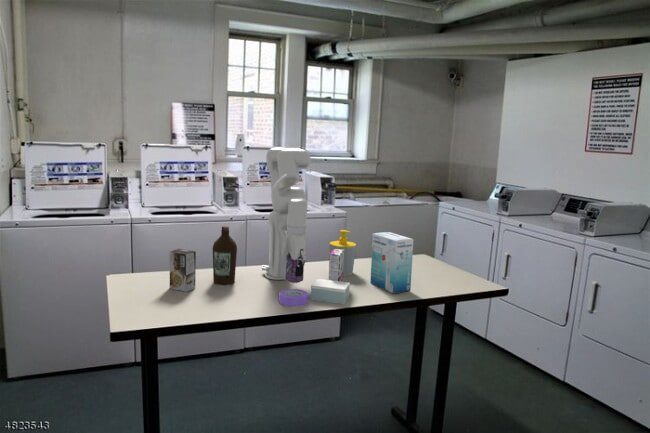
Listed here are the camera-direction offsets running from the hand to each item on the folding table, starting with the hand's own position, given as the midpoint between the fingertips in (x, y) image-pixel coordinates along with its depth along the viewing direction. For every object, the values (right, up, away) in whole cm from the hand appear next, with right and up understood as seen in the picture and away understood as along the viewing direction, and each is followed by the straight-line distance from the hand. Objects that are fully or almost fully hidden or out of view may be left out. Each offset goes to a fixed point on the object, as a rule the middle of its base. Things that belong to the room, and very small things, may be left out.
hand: (294, 273), depth 205 cm
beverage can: (0, -3, +1) cm, 3 cm away
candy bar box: (+17, -9, +24) cm, 30 cm away
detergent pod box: (+14, -11, +9) cm, 20 cm away
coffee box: (-48, -8, +11) cm, 50 cm away
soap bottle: (+20, -5, +48) cm, 52 cm away
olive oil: (-33, -7, +23) cm, 40 cm away
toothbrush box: (+42, -10, +28) cm, 51 cm away
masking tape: (-1, -12, +2) cm, 12 cm away
